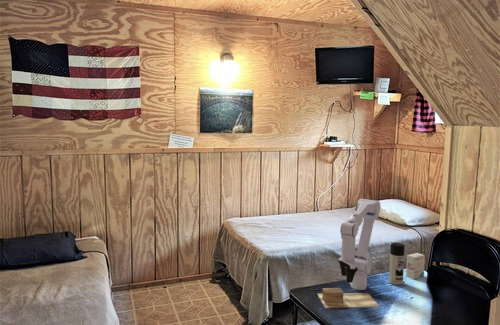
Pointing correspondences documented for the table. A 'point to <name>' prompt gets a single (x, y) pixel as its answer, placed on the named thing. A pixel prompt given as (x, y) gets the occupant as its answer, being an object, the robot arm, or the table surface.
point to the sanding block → (332, 295)
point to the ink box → (415, 265)
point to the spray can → (396, 263)
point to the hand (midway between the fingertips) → (346, 278)
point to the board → (352, 301)
